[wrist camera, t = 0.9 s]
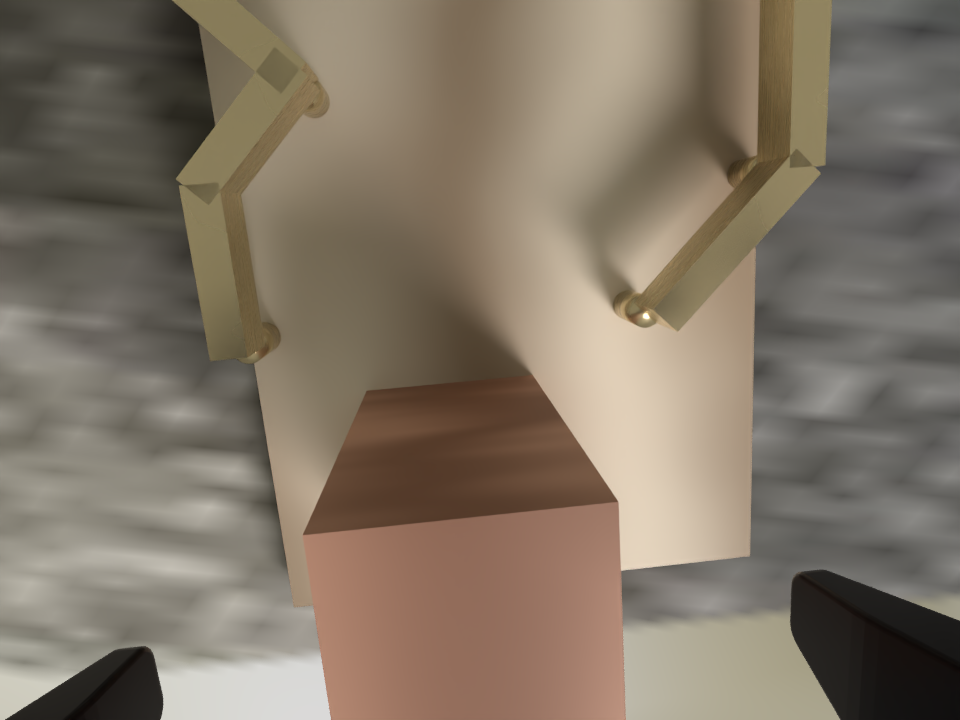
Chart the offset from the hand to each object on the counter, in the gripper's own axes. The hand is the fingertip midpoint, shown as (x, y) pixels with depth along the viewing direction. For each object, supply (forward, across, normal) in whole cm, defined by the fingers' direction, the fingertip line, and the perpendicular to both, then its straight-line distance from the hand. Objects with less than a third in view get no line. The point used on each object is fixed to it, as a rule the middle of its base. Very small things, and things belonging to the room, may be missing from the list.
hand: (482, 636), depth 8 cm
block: (+7, 0, 0) cm, 7 cm away
